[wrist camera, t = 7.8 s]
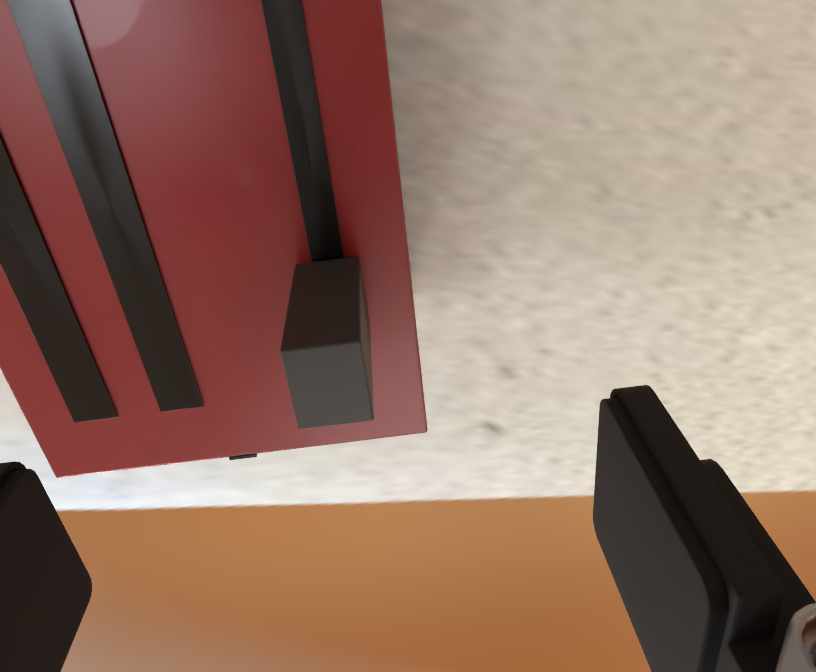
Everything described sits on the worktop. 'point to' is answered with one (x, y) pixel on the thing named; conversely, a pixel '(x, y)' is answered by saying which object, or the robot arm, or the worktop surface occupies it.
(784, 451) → the worktop surface
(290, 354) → the slider
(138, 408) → the toaster
